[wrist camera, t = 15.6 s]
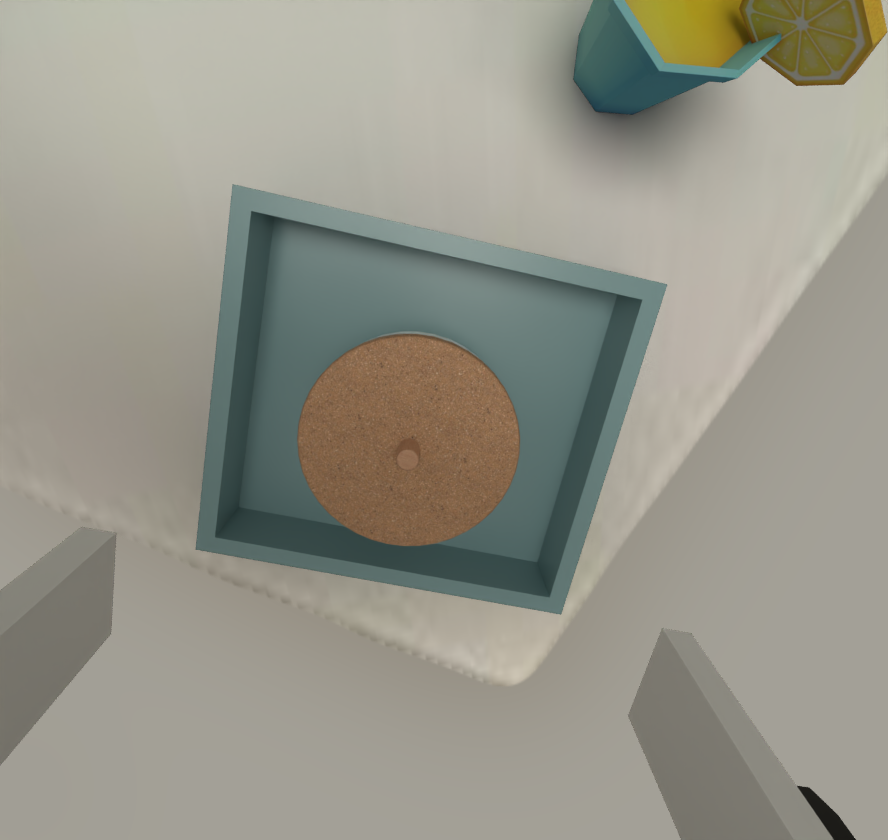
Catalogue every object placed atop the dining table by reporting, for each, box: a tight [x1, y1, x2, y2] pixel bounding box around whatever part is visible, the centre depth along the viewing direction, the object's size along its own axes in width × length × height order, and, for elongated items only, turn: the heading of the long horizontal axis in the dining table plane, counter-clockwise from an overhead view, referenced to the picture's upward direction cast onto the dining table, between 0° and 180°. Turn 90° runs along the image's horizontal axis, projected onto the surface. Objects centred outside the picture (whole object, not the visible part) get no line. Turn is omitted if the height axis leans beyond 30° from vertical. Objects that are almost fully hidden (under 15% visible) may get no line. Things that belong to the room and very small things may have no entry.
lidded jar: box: [297, 331, 520, 546], centre depth 29 cm, size 11×11×9 cm
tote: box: [196, 184, 667, 614], centre depth 32 cm, size 22×20×5 cm
